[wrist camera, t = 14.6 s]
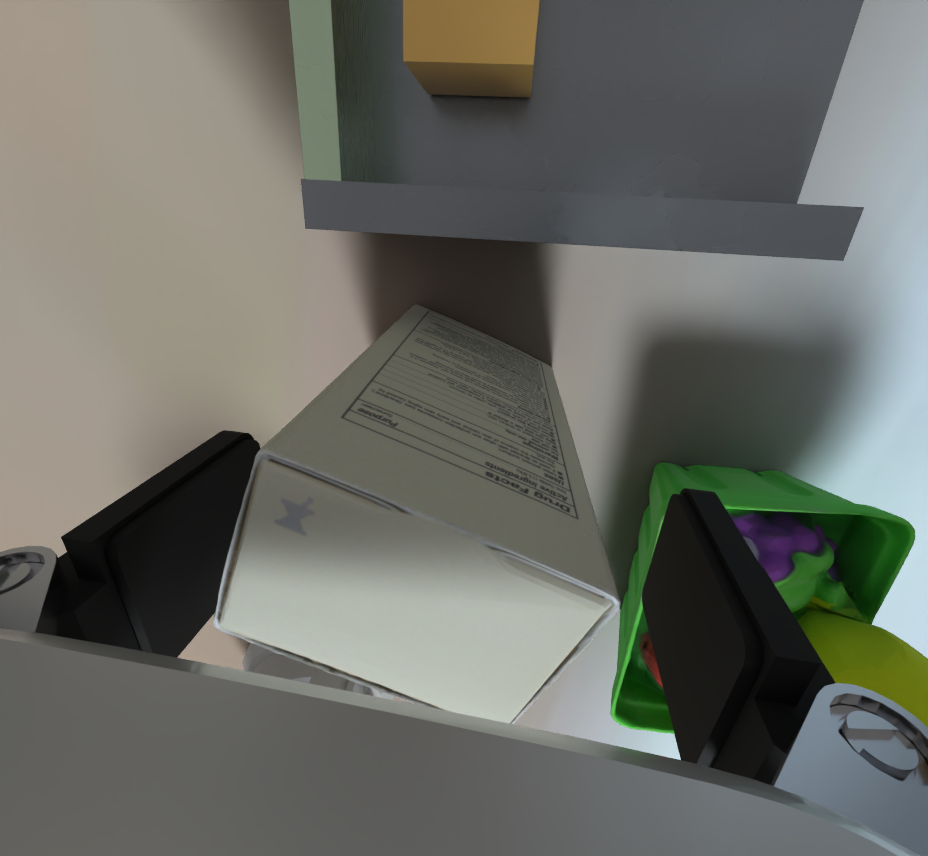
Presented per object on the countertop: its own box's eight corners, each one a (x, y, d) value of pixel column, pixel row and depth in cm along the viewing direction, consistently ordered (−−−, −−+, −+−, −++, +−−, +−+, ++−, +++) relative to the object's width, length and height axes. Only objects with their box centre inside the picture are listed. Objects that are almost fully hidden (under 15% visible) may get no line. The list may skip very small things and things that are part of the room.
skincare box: (378, 393, 19) (186, 627, 8) (415, 298, 17) (231, 435, 6) (513, 454, 20) (504, 753, 9) (563, 369, 18) (632, 611, 7)
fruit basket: (629, 431, 19) (762, 685, 8) (857, 447, 18) (1308, 749, 8) (590, 627, 23) (643, 939, 13) (768, 646, 23) (970, 994, 12)
